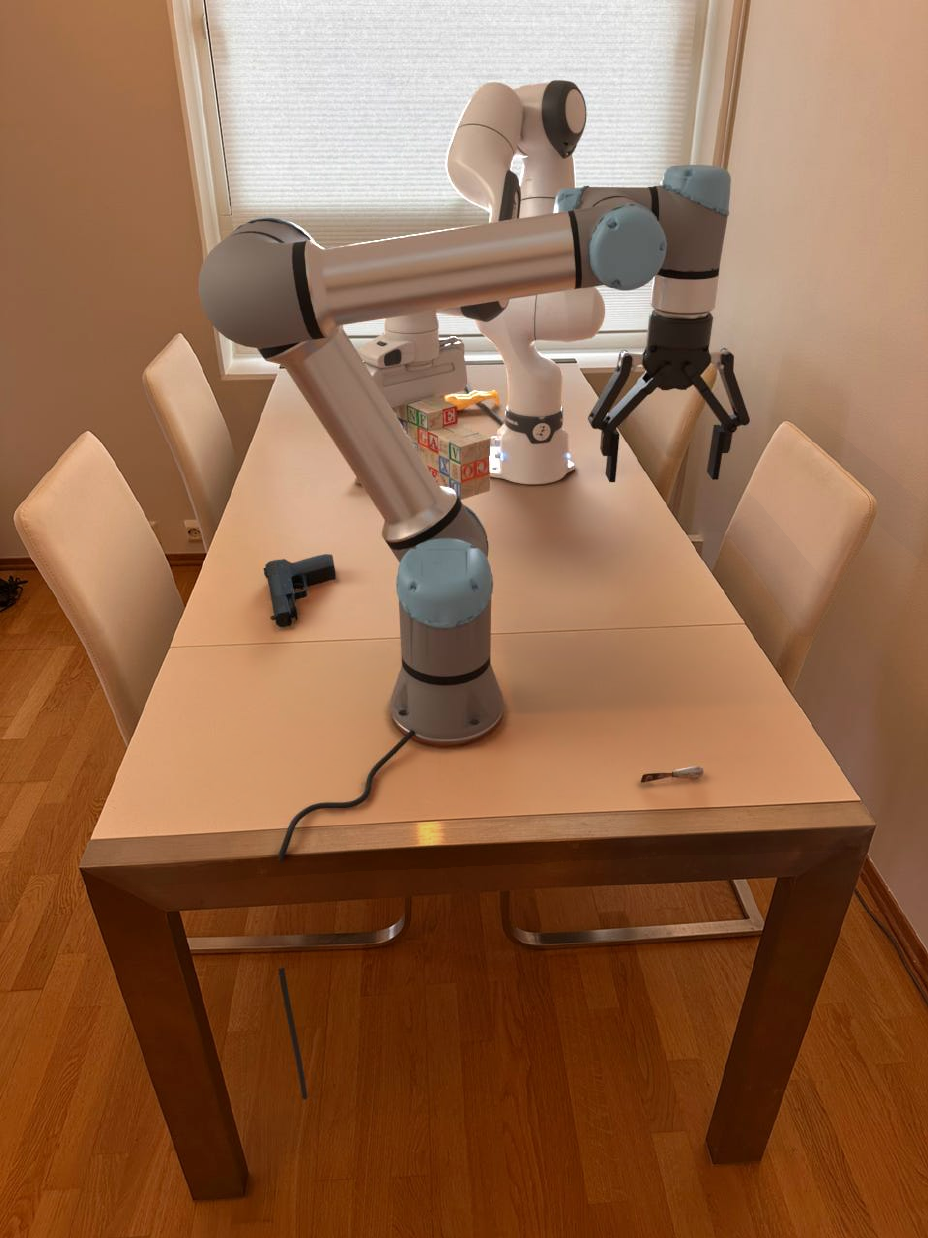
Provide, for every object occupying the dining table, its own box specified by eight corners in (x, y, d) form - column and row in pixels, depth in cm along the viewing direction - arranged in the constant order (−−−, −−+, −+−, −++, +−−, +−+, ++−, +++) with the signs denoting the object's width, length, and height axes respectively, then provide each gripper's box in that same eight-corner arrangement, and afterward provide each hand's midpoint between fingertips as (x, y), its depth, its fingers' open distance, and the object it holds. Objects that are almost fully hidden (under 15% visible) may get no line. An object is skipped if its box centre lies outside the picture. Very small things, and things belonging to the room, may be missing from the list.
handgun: (348, 619, 141) (272, 630, 139) (332, 566, 156) (262, 576, 153) (347, 602, 140) (269, 613, 137) (331, 550, 154) (260, 559, 151)
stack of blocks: (491, 491, 147) (491, 419, 141) (460, 501, 144) (459, 428, 138) (420, 453, 162) (416, 386, 155) (390, 461, 159) (386, 394, 152)
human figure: (395, 413, 223) (394, 398, 221) (438, 390, 237) (438, 375, 235) (462, 429, 215) (462, 413, 213) (502, 404, 229) (503, 388, 227)
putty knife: (703, 777, 109) (705, 767, 109) (642, 788, 108) (644, 777, 107) (700, 772, 110) (702, 762, 109) (639, 782, 109) (640, 771, 108)
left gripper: (773, 301, 110) (745, 463, 121) (572, 305, 109) (563, 468, 120) (796, 316, 104) (764, 485, 115) (582, 320, 103) (571, 490, 114)
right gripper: (452, 330, 154) (453, 408, 161) (349, 350, 144) (355, 432, 151) (474, 338, 149) (474, 418, 157) (369, 359, 139) (374, 443, 147)
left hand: (661, 477), depth 118 cm, fingers open, 13 cm apart
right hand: (415, 425), depth 154 cm, fingers closed on stack of blocks, 6 cm apart
